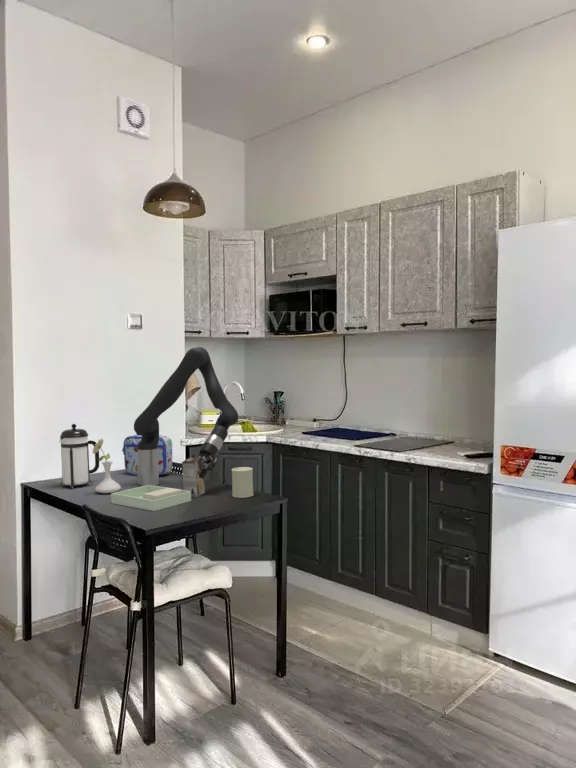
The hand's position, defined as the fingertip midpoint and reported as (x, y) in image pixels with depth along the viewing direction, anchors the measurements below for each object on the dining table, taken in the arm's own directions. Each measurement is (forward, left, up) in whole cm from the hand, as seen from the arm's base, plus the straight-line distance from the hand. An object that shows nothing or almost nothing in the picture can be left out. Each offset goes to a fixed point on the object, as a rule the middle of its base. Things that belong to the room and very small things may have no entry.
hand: (193, 476), depth 270 cm
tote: (-5, -20, -9) cm, 22 cm away
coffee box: (0, 0, -8) cm, 8 cm away
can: (+17, +12, -9) cm, 23 cm away
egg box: (+2, -20, -8) cm, 21 cm away
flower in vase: (-41, -15, -9) cm, 44 cm away
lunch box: (-59, +24, -9) cm, 64 cm away
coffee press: (-67, -12, -9) cm, 69 cm away
